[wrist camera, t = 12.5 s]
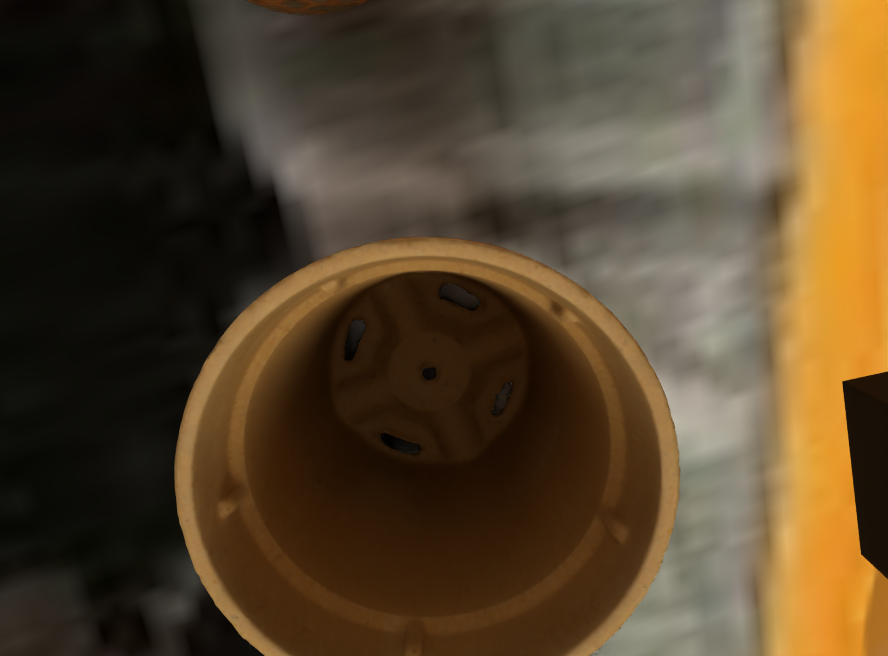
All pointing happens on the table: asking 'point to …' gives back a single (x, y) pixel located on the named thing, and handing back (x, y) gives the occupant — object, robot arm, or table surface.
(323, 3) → the vase
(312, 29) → the table surface
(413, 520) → the flower pot
